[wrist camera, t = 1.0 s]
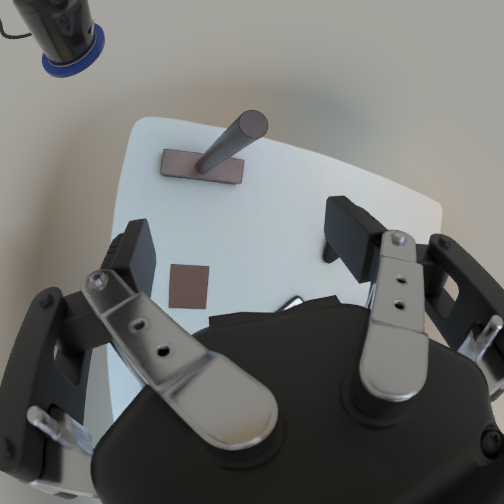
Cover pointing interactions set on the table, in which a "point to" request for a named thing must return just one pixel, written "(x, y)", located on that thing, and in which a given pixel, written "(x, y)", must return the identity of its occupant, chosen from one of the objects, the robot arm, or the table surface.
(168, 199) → the table surface
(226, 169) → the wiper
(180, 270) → the stain
